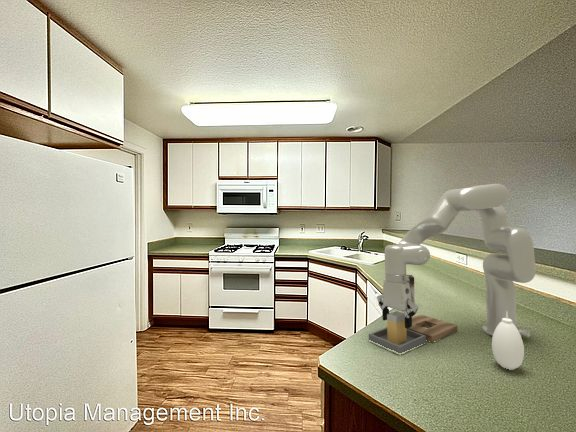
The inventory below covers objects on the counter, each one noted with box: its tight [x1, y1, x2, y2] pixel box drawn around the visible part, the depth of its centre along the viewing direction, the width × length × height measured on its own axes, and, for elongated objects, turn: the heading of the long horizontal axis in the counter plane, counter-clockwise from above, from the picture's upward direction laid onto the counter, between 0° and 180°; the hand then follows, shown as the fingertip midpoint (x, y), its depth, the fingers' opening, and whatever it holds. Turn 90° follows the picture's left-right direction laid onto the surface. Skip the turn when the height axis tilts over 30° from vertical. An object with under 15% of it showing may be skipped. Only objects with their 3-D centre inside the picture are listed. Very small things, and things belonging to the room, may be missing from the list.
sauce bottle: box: [491, 311, 525, 371], centre depth 90 cm, size 8×8×18 cm
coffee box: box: [406, 274, 415, 310], centre depth 150 cm, size 9×6×16 cm
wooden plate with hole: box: [407, 314, 458, 343], centre depth 119 cm, size 16×18×2 cm
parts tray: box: [368, 326, 427, 353], centre depth 109 cm, size 14×16×3 cm
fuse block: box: [386, 310, 407, 345], centre depth 109 cm, size 4×6×10 cm, turn 123°
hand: (396, 323), depth 109 cm, fingers open, 9 cm apart
